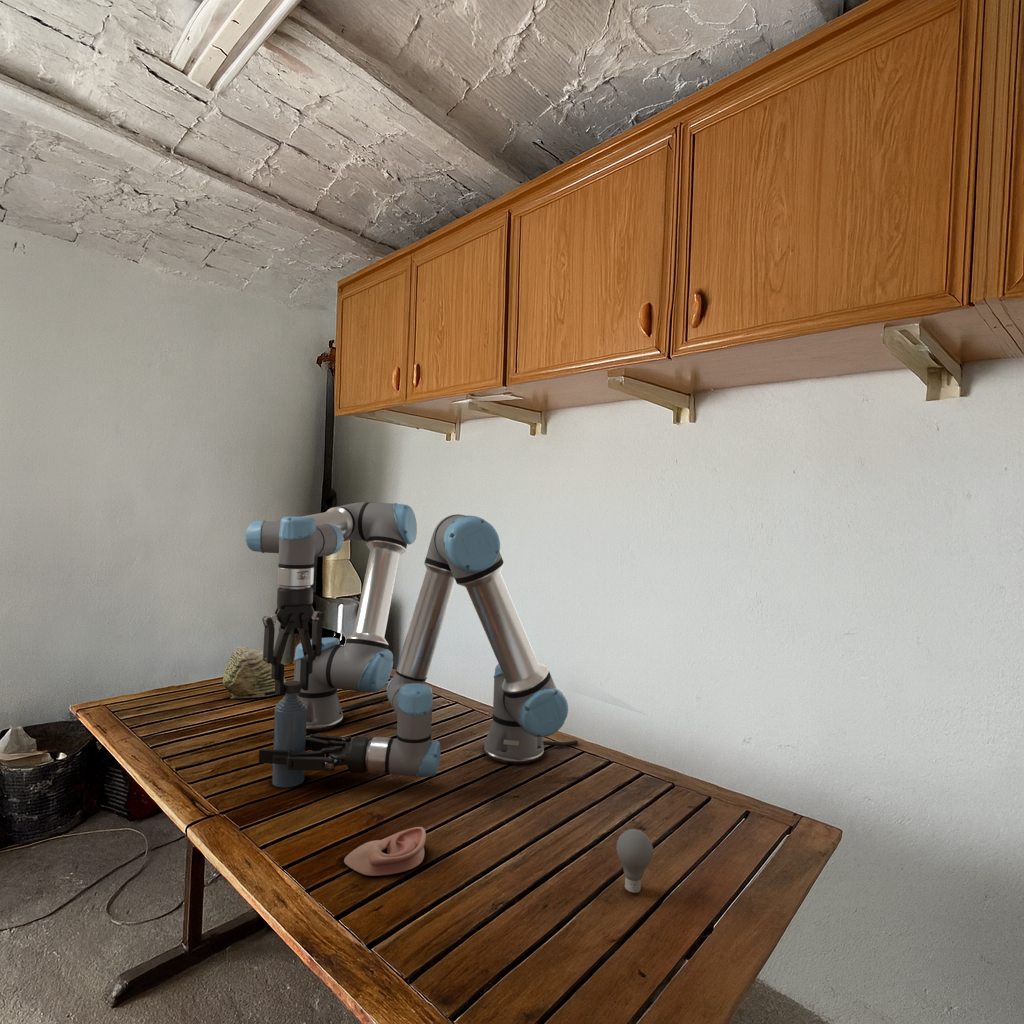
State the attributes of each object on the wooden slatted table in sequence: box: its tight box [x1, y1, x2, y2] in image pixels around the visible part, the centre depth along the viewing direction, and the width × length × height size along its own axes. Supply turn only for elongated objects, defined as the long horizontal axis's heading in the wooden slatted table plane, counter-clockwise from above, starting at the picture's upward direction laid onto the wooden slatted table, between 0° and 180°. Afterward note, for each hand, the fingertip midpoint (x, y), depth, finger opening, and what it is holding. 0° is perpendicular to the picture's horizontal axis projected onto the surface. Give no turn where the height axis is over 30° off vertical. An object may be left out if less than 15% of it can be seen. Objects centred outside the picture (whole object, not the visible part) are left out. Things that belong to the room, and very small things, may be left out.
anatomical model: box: [343, 826, 427, 877], centre depth 112 cm, size 13×4×12 cm
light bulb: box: [615, 828, 654, 894], centre depth 106 cm, size 6×6×10 cm
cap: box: [283, 680, 301, 694], centre depth 140 cm, size 4×4×2 cm
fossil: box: [222, 646, 287, 699], centre depth 198 cm, size 9×18×15 cm, turn 132°
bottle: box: [271, 693, 307, 789], centre depth 140 cm, size 7×7×21 cm
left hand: (291, 690), depth 140 cm, fingers open, 5 cm apart
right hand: (267, 749), depth 141 cm, fingers closed on bottle, 7 cm apart
